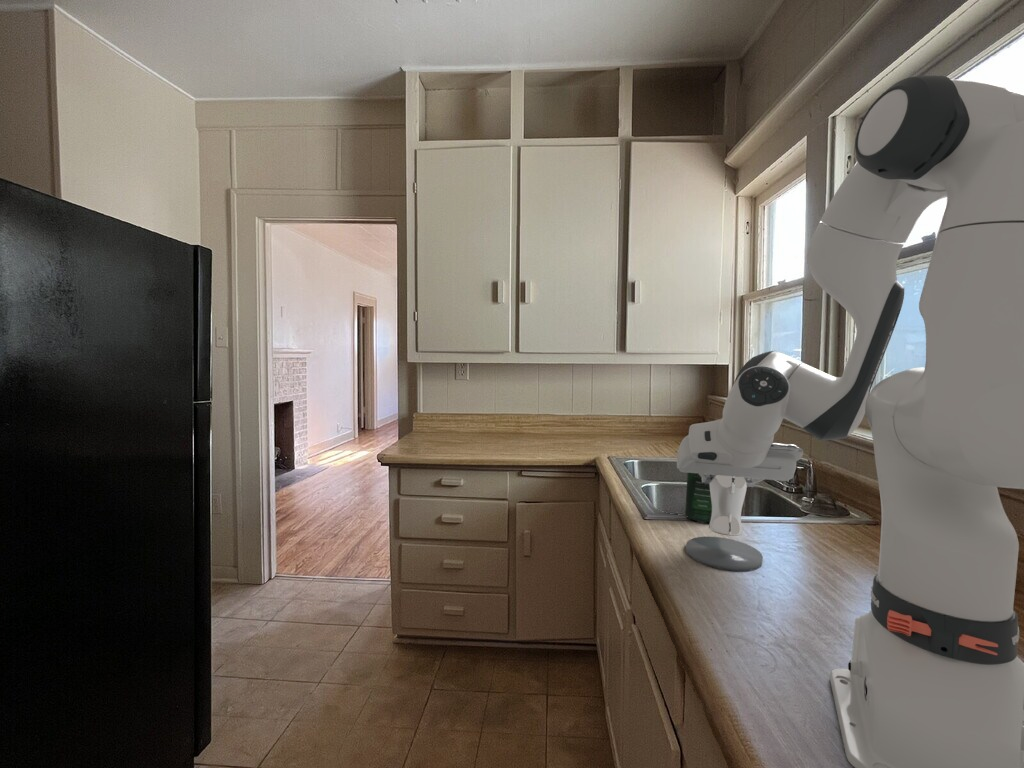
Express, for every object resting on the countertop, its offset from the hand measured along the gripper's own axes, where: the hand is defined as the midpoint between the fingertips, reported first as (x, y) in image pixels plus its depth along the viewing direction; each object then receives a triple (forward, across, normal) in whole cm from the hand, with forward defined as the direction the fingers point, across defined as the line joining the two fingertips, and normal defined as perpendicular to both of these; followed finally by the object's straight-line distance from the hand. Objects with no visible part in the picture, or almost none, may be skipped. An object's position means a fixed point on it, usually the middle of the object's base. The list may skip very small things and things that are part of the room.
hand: (726, 481), depth 96 cm
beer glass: (+6, 0, +8) cm, 10 cm away
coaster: (+10, 0, +11) cm, 15 cm away
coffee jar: (+26, 0, -5) cm, 26 cm away
